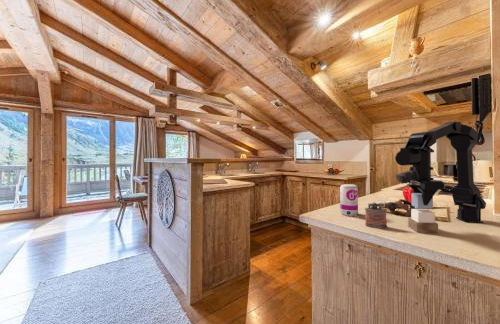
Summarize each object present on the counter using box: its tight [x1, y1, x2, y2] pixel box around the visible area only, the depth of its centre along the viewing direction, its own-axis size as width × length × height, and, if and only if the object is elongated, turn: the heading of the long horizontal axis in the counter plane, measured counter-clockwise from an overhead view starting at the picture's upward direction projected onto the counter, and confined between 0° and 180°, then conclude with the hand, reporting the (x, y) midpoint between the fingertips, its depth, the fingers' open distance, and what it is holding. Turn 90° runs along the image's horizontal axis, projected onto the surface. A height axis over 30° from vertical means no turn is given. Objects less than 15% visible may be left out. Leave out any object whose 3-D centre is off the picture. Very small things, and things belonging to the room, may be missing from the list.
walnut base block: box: [407, 217, 439, 234], centre depth 87 cm, size 7×7×4 cm
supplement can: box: [339, 183, 359, 217], centre depth 112 cm, size 8×8×15 cm
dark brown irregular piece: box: [386, 198, 416, 217], centre depth 110 cm, size 12×10×8 cm
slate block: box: [410, 192, 434, 209], centre depth 87 cm, size 5×5×5 cm
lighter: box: [364, 201, 388, 229], centre depth 93 cm, size 8×3×10 cm, turn 70°
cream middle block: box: [410, 208, 436, 223], centre depth 87 cm, size 6×6×4 cm
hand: (421, 203), depth 87 cm, fingers closed on slate block, 5 cm apart
